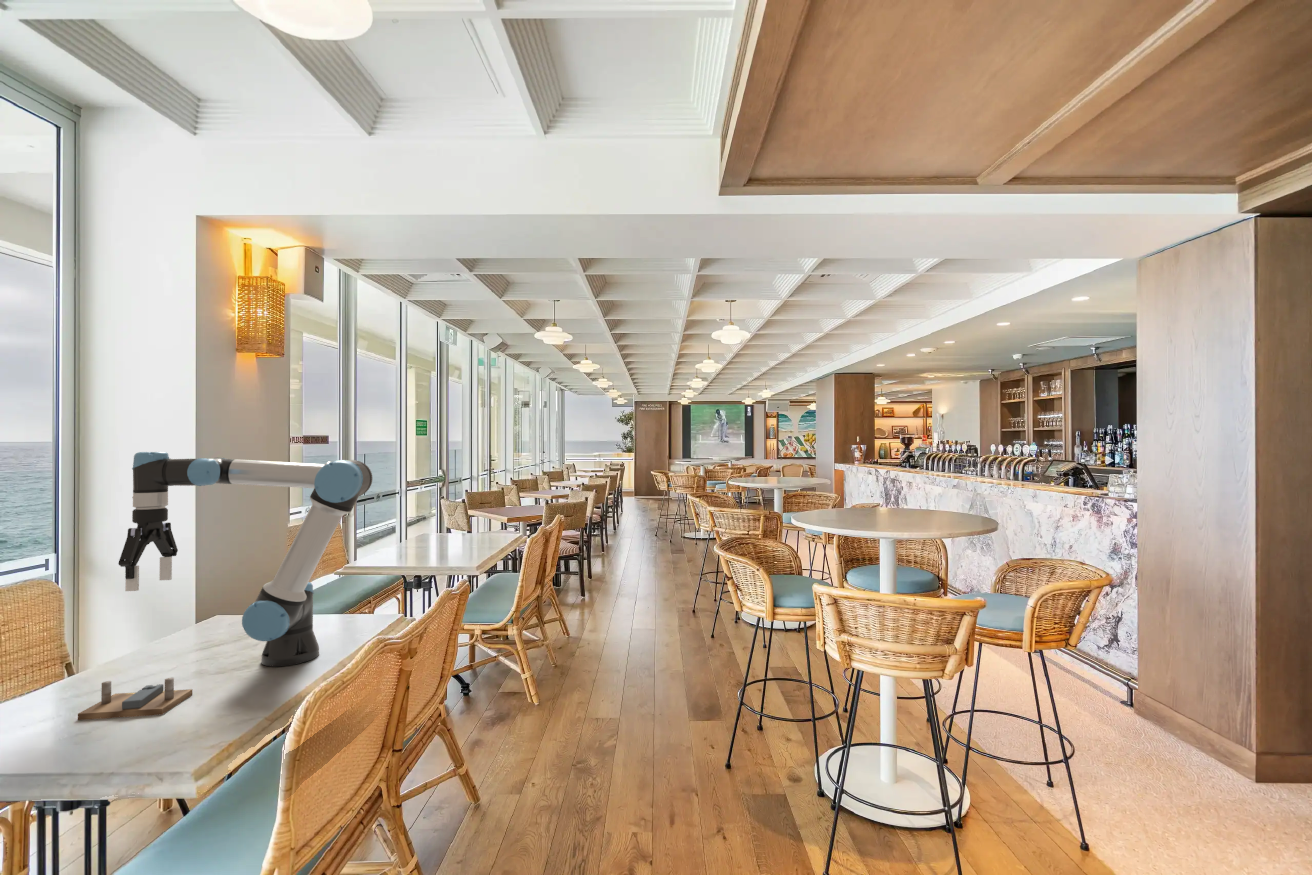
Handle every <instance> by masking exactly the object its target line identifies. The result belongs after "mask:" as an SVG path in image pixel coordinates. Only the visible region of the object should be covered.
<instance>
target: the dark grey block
mask: <svg viewBox="0 0 1312 875" xmlns="http://www.w3.org/2000/svg"><path fill="white" fill-rule="evenodd" d="M163 691H164V684H156V685H152V684H150V685H145V686H144V687H143V688H141V689H139V690H138V691H137V692H136V693H135V692H134V693H135V694H133V695H132V696H130V697H129V698H127V699H126V700H124V701H123V702H122V709H123V710H124V709H135V708H141V707H142V706H144V705H145V704H146V703H148V702H149V701H151V700H152V699H153V698H155V697H156V696H157V695H159V694H160V693H162V692H163Z"/></svg>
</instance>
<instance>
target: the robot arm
mask: <svg viewBox="0 0 1312 875" xmlns="http://www.w3.org/2000/svg"><path fill="white" fill-rule="evenodd" d="M169 456H170V455H169V453H168V452H167V451H141V452H140V451H139V452H136V453H135V454H134V455H133V464H132V468H131V469H132V507H133V508H134V509H133V510H132V511H131V512H132V516H131V518H132V521H131V522H132V523H133V524H137V527H128V529H127V536H126V539H125V543H124V545H123V549H122V551H121V554H120V557H119V559H118V563H117V564H118V566H120V567H121V568H122V567H123V568H125V572H124V573H125V574H124V575H125V576H124V577H125V578H124V579H125V587H124V588H125V592H137V591H140V565H138V563H139V561H140V559H141V557H142V555H143V554H144V551H145V549H146V547H147V546H149V545H150V544H151V543H153V544H154V545H155V547H156V548H157V550H158V552H159V553H160V554H161V556H160V557H159V581H171V580H172V578H173V572H172V571H173V568H172V567H173V557H177V553H178V551H179V550H178V546H177V544H176V540H175V538H174V534H173V531H172V525H171V522H166V521H168V518H169V509H168V506H169V487H172V486H173V487H174V486H175V487H176V486H180V487H181V486H185V487H186V486H187V487H189V486H194V487H195V486H199V487H202V486H203V487H204V486H213V485H215V484H220V485H221V484H223V485H224V484H226V485H246V486H261V487H262V486H264V487H281V488H282V487H285V488H299V489H303V488H304V489H313V490H312V492H311V494H310V496H309V499H310V501H311V507H310V508H309V510H308V512H307V515H306V516H305V518H304V520H303V522H302V524H301V525H300V527H299V529H298V531H297V533H296V535H295V537H294V539H293V541H292V544H291V545H290V547H289V549H288V551H287V552H286V554H285V556H284V558H283V560H282V562H281V564H280V565H279V567H278V570H277V572H276V573H275V576H274V578H273V579H272V580H271V581H269V582H266V583H264V584H263V585H262V587H261V589H260V592H259V593H258V596H257V597H256V599H255V601H254V602H253V603H251V604H250V605H249V606H248V607H247V608H246V609H245V610H244V612H243V614H242V617H241V625H242V626H241V627H242V628H243V630H244V632H245V633H246V635H247V636H248V637H250V638H251V639H253V640H255V641H259V642H265V645H264V648H263V650H262V653H261V661H260V662H261V665H263V666H266V667H285V666H294V665H299V664H303V663H306V662H309V661H311V660H314V659H315V658H317V657H318V656H319V655H320V646H319V643H318V641H317V638H316V635H315V633H314V618H313V617H314V594H315V592H314V586H313V584H312V582H310V580H311V578H312V576H313V574H314V572H315V571H316V568H317V567H318V565H319V563H320V560H321V558H322V556H323V554H324V553H325V551H326V549H327V546H328V545H329V543H330V541H331V539H332V537H333V535H334V534H335V531H336V529H337V527H338V526H339V524H340V521H341V520H342V518H343V516H344V515H347V514H349V513H351V512H352V510H353V508H354V506H355V505H356V503H357V501H358V498H359V497H361V496H362V495H364V494H366V493H367V492H368V491H369V490H370V488H371V487H372V484H373V473H372V471H371V469H370V467H369V466H368V465H366V463H364V462H362V461H360V460H356V459H348V460H347V459H336V460H334V461H327V462H326V463H308V462H307V463H305V462H291V461H290V462H289V461H272V460H271V461H270V460H255V459H253V460H252V459H237V458H236V459H234V458H225V457H214V458H211V457H210V458H205V457H202V458H199V457H198V458H170V457H169Z"/></svg>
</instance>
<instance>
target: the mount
mask: <svg viewBox="0 0 1312 875" xmlns="http://www.w3.org/2000/svg"><path fill="white" fill-rule="evenodd" d="M100 691H101V696H100V698H101V700H100V701H99V702H97V703H95V704H93V705H91V706H90V707H88V708H86V709H84V710H82V711H80V712H79V713H77V721H87V720H100V719H101V720H104V719H117V718H133V717H134V718H135V717H149V716H151V717H152V716H162V715H164V714H166V713H168V712H169V711H170V710H172V709H173V708H175V707H176V706H179V704H181V703H183V702H185V701H186V700H188V699H189V698H190V697H192V696H193V689H192V688H190V689H175V678H174V677H167V678H165V679H164V690H163V692H162V693H160V694H159V695H157V696H156V697H155V698H153V699H152V700H151V701H149V702H148V703H146V704H145V705H144V706H142V707H141V708H135V709H124V710H123V709H122V702H123V701H124V700H126V699H127V698H129V697H130V696H132V695H133V694H135V693H136V692H122V693H113V694H112V681H111V680H108V681H103V682H101V690H100Z"/></svg>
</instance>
